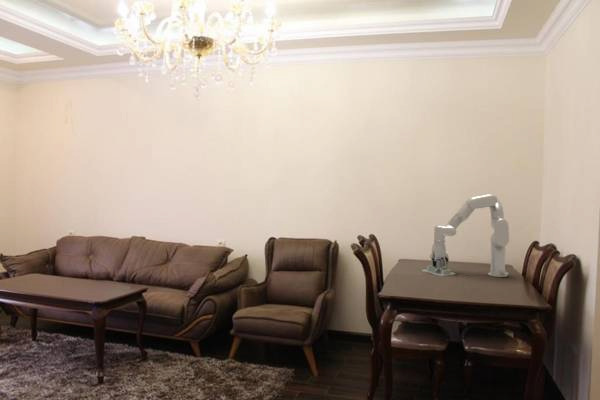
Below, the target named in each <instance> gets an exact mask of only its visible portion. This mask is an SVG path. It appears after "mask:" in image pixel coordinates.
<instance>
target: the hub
mask: <svg viewBox="0 0 600 400" xmlns="http://www.w3.org/2000/svg"><path fill="white" fill-rule="evenodd" d="M435 268H436V269H437V268H443V269H444V268H445V266H444V259H436V267H435Z"/></svg>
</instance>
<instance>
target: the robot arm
mask: <svg viewBox="0 0 600 400" xmlns="http://www.w3.org/2000/svg"><path fill="white" fill-rule="evenodd" d="M484 208H489V210H490V211H489V212H490V226H491V228H493V231H494V232H493V233H492V234H491V235H490V271H489V272H488V273H487V275H488V276H490V277H498V278H503V277H504V278H505V277H508V275H509V272H507V270H506V246H507V245H508V243H509V242H510V229H509V228H510V227H509V222H508V221H507V219H505V218H504V217H505V216H504V207H503V204H502V202H501V201H500V200H499V199H498V197H497V195H495V194H494V193H486V194H484V195H479V196H470V197H468V198H467V199H466V200H465V202H464V203H463V204H462V205H461V207H460V208H459V209H458V210H457V212H455V214H454V215H453V216H452V217H451V218H450V219H449V221H448V222H447V224H445V225H435V226H434V229H433V231H434V234H433V237H434V238H433V244H432V247H431V254H430V255H429V258H430V259H431V261H432V265H433V266H434V267H436V259H437V258H441V259H444V267H445V266H446V265H445V260H446V258H447V257H449V254H447V249H446V239H445V238H446V237H445V236H448V237H454V236H456V234H457V228H458V227H459V226H460V225H461V224H463V222H465V221H466V220H468V219H469V217H470V216H471V215H472V213H473V212H474V211H475V210H476V209H477V210H478V209H484Z"/></svg>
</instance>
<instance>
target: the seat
mask: <svg viewBox="0 0 600 400" xmlns="http://www.w3.org/2000/svg"><path fill="white" fill-rule="evenodd" d="M426 266H427V267H426V269H422V270H421V271H422V272H423V273H429V274H432V275H434V276H435V275H436V276H438V277H443V276H444V277H445V276H456V273H455V272H452V269H451V268H445V269H444V268H443V269H440V268H435V267H434V266H433V264H432V265H431V264H430V265H426Z"/></svg>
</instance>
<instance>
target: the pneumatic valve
mask: <svg viewBox="0 0 600 400" xmlns="http://www.w3.org/2000/svg"><path fill="white" fill-rule="evenodd" d="M437 259H441V258H437ZM447 263H449V256H448V257H447V258H446V260H445V264H447ZM442 269H444V268H440V270H442Z"/></svg>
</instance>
